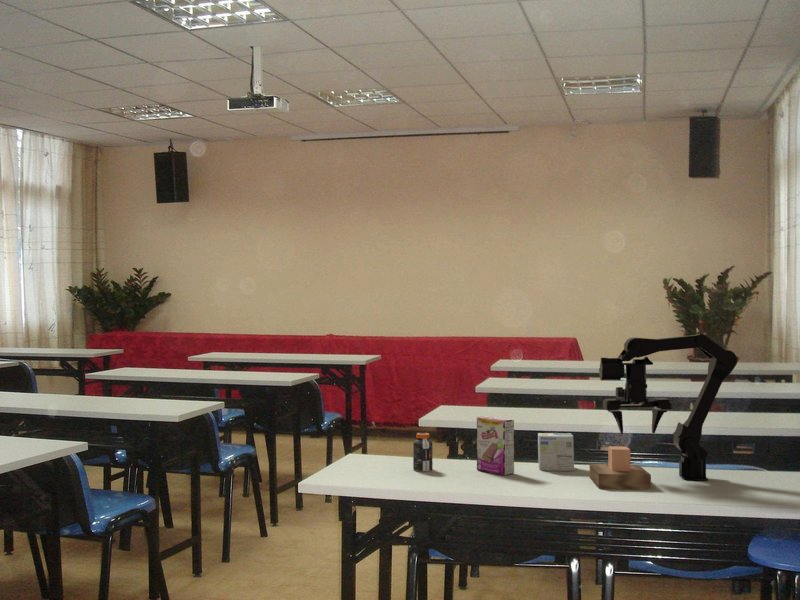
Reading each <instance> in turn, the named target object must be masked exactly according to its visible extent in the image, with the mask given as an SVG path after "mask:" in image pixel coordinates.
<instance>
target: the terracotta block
mask: <svg viewBox="0 0 800 600" xmlns="http://www.w3.org/2000/svg"><path fill="white" fill-rule="evenodd" d="M607 447H608V452H607V453H608V456H607V457H608V461H607V462H608V463H607V464H609V468H610V469H611V470H612V471H630V465H631V449H630V448H629V447H627V446H616V445H615V446H614V445H612V446H611V445H610V446H607Z"/></svg>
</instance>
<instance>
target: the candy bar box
mask: <svg viewBox="0 0 800 600" xmlns="http://www.w3.org/2000/svg"><path fill="white" fill-rule="evenodd" d="M476 471H480V472H484V473H485V472H486V473H491V474H496V475H500V476H509V475H512V474H515V420H514V419H512V418H504V417H499V416H498V417H496V416H489V415H484V416H477V417H476Z"/></svg>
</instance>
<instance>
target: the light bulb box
mask: <svg viewBox="0 0 800 600" xmlns="http://www.w3.org/2000/svg"><path fill="white" fill-rule="evenodd" d="M574 442H575V441H574V435H573V434H572V433H570V432H567V433H563V432H562V433H561V432H560V433H559V432H548V433H547V432H544V433H541V432H538V433H537V450H538V451H537V454H538V455H537V457H538V458H537V459H538V470H539V471H540V470H541V471H551V472H553V471H554V472H555V471H556V472H557V471H558V472H560V471H561V472H564V471H565V472H570V471H571V472H574V471H575V459H574V458H575V450H574V449H575V448H574Z"/></svg>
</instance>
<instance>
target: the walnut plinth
mask: <svg viewBox="0 0 800 600" xmlns="http://www.w3.org/2000/svg"><path fill="white" fill-rule="evenodd" d="M589 479H590V480H591V481H592V483H593V484H594V485H595V486H596V488H598V489H600V490H601V489H602V490H605V489H606V490H652V474H651V473H650V472H648V471H647V470H646V469H645V468H644V467H642V466H641V465H639V464H630V471H612V470H611V469H610V468H609V463H607V464H604V463H603V464H601V463H600V464H599V463H589Z"/></svg>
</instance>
